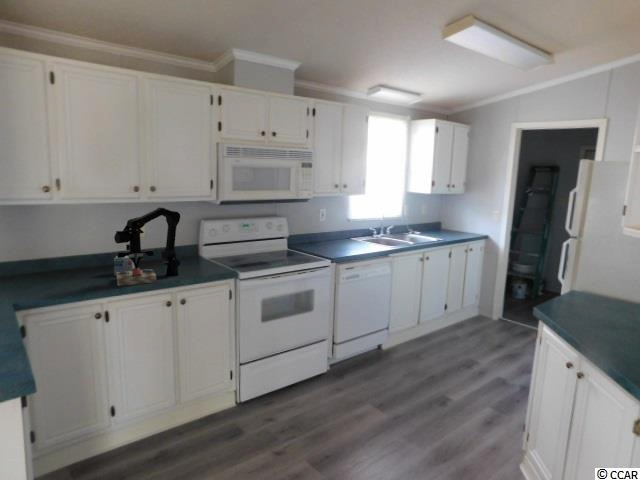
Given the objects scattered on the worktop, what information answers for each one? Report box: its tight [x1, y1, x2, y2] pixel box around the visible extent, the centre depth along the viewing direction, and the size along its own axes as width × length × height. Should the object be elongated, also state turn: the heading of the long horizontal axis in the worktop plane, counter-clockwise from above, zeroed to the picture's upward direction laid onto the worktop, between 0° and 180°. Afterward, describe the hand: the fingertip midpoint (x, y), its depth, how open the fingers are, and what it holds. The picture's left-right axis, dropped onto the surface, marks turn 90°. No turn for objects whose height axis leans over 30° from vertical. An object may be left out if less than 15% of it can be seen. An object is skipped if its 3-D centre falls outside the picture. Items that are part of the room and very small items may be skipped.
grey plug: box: [142, 268, 151, 273], centre depth 241 cm, size 4×4×4 cm
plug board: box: [115, 269, 157, 287], centre depth 235 cm, size 20×16×4 cm
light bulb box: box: [113, 255, 135, 276], centre depth 250 cm, size 11×7×11 cm, turn 105°
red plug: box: [132, 267, 141, 277], centre depth 231 cm, size 4×4×4 cm
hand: (136, 268), depth 231 cm, fingers closed
